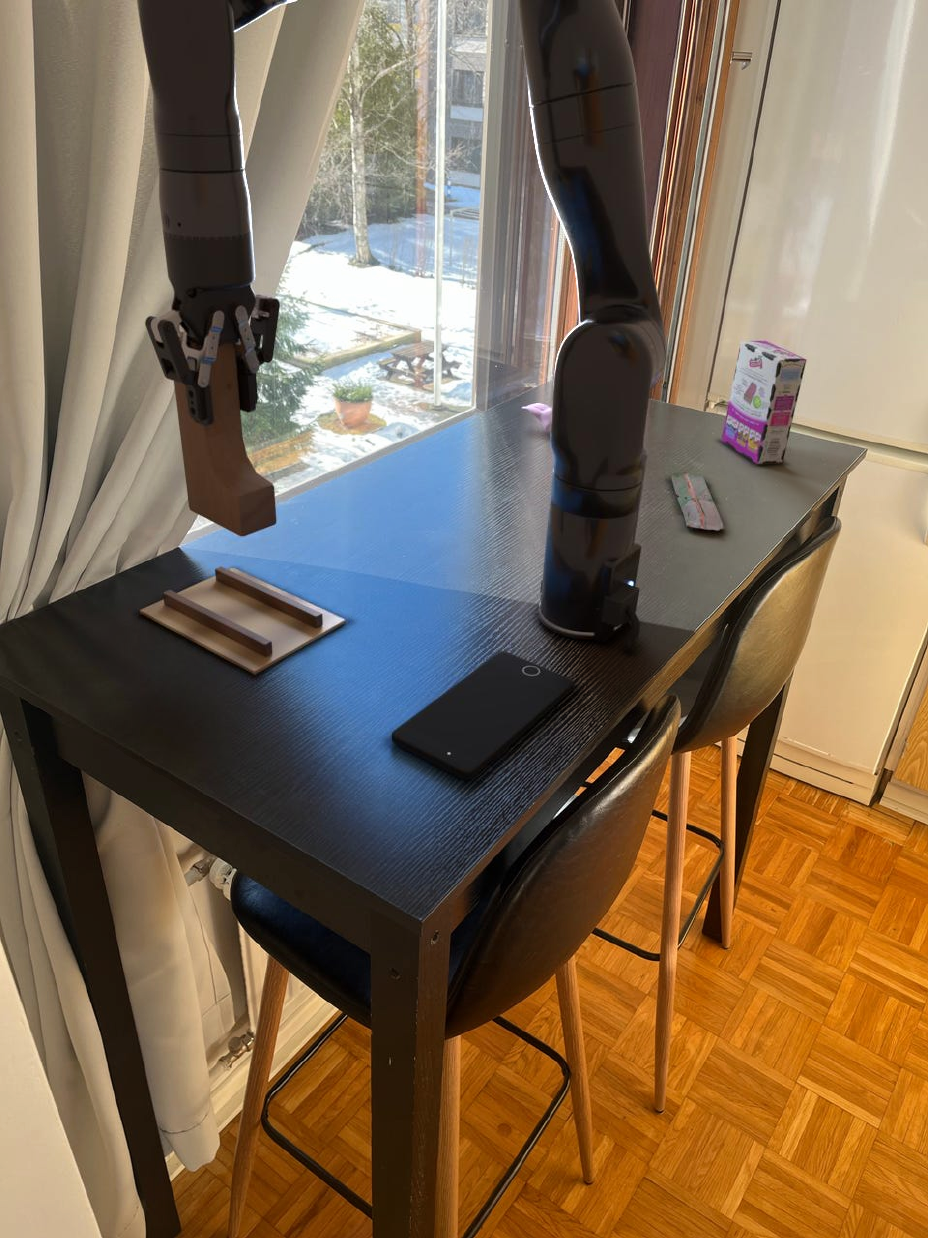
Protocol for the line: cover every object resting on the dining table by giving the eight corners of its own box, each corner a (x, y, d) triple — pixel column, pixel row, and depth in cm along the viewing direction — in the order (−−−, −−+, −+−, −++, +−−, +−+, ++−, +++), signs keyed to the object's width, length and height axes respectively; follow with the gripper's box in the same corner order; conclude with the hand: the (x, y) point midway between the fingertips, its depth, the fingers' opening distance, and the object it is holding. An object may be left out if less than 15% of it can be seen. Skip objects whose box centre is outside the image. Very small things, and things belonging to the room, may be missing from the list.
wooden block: (278, 525, 95) (266, 345, 86) (242, 539, 92) (225, 354, 83) (224, 498, 100) (206, 325, 91) (187, 510, 97) (166, 333, 88)
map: (701, 478, 142) (702, 472, 142) (726, 531, 124) (727, 525, 124) (668, 476, 143) (668, 470, 142) (688, 529, 125) (689, 522, 124)
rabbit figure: (604, 449, 153) (534, 411, 161) (613, 416, 150) (542, 379, 157) (580, 459, 149) (510, 420, 157) (589, 425, 146) (517, 386, 153)
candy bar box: (784, 463, 148) (809, 358, 139) (757, 466, 146) (779, 360, 138) (746, 438, 157) (766, 338, 148) (719, 440, 156) (738, 340, 147)
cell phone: (576, 688, 93) (577, 680, 93) (468, 783, 80) (469, 775, 80) (501, 656, 97) (502, 649, 97) (388, 742, 85) (388, 733, 84)
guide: (345, 622, 102) (345, 607, 101) (254, 674, 93) (253, 658, 92) (233, 570, 111) (231, 555, 110) (140, 613, 102) (137, 598, 101)
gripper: (167, 241, 75) (191, 446, 84) (298, 222, 85) (307, 407, 94) (109, 228, 79) (138, 426, 88) (241, 212, 89) (255, 391, 97)
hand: (225, 415), depth 91 cm, fingers closed on wooden block, 4 cm apart
